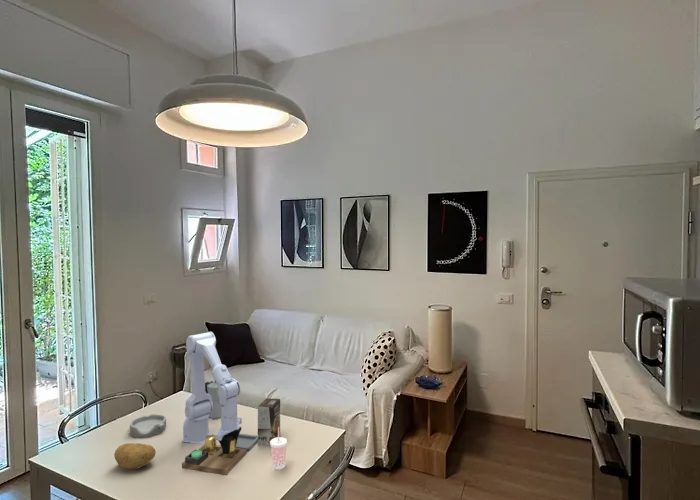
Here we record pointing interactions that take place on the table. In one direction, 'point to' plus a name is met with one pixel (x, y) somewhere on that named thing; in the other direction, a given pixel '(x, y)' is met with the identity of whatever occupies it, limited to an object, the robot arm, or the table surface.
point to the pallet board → (213, 461)
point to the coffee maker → (214, 399)
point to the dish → (148, 425)
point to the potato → (134, 455)
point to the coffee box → (268, 421)
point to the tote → (246, 441)
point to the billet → (231, 449)
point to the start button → (196, 454)
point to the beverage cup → (278, 451)
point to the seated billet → (210, 444)
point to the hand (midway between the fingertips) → (229, 450)
